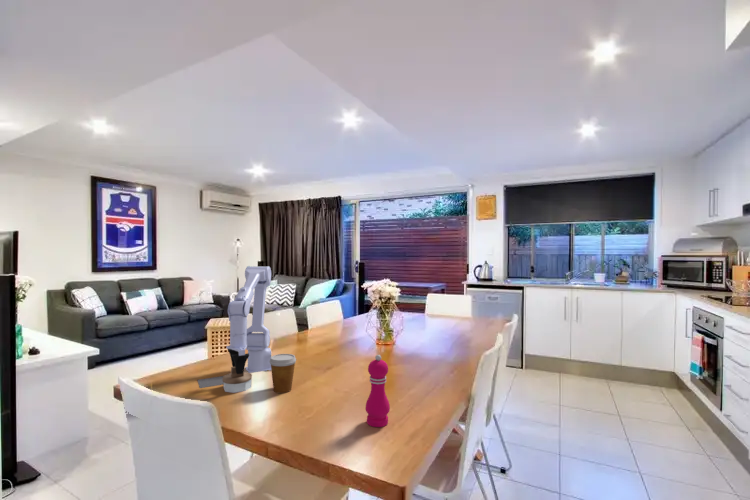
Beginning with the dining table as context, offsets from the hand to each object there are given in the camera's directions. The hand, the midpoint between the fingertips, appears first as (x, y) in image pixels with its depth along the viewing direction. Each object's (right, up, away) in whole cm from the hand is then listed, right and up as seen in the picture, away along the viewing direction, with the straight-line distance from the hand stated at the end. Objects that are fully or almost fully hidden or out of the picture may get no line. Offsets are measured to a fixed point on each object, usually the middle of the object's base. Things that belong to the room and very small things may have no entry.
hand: (237, 370), depth 134 cm
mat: (-12, -7, +6) cm, 15 cm away
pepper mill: (+51, -7, -26) cm, 58 cm away
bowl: (0, -7, 0) cm, 7 cm away
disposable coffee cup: (+17, -7, -1) cm, 18 cm away
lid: (0, -3, 0) cm, 3 cm away
